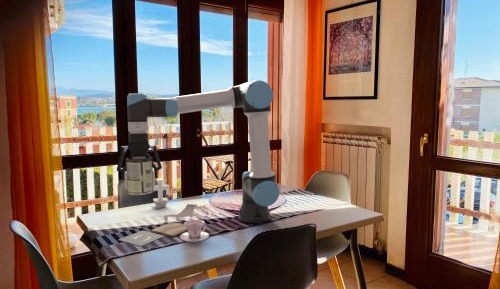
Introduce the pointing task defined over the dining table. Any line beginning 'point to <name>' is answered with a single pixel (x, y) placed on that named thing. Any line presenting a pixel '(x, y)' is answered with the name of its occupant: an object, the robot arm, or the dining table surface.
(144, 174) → the coffee can
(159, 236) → the tile
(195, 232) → the teacup
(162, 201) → the figurine
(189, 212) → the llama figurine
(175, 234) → the walnut board
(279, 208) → the dining table surface
